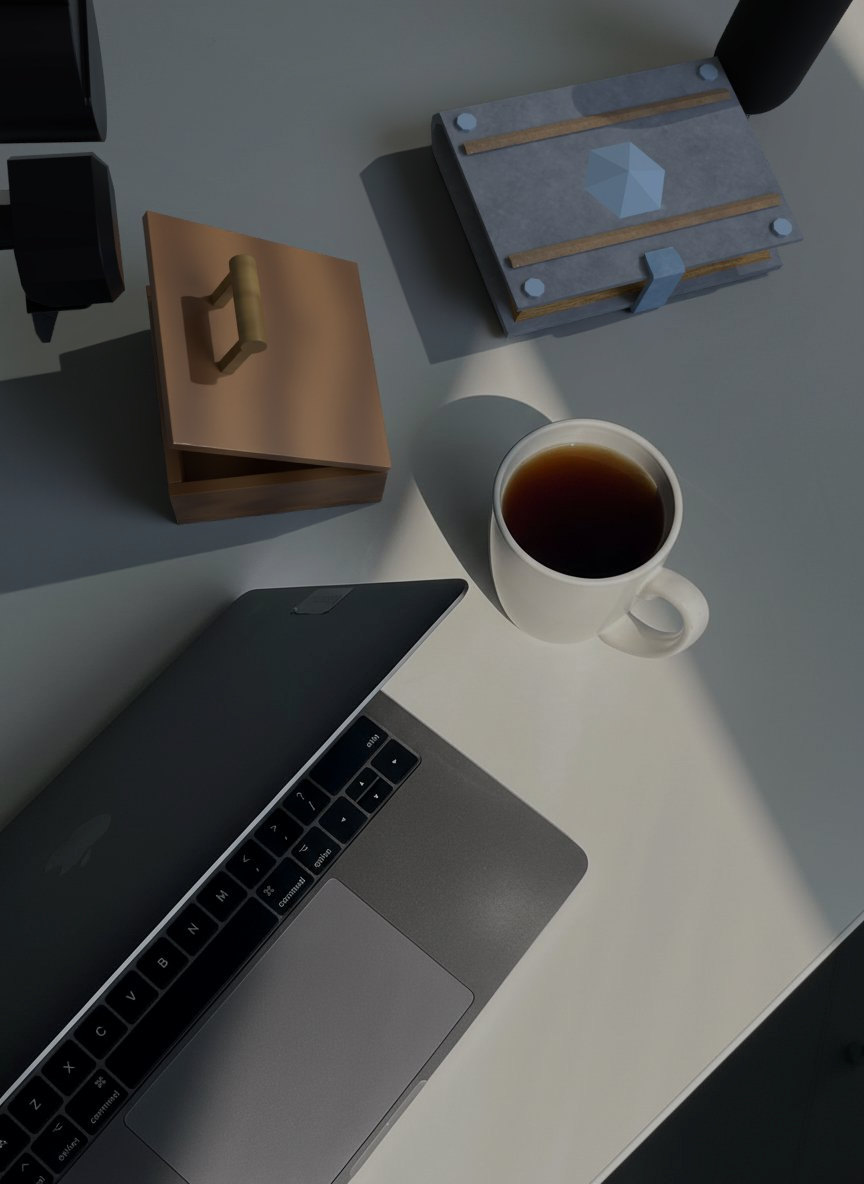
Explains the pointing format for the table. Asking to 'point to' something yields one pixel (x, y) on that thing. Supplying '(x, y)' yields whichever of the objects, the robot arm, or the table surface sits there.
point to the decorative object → (774, 47)
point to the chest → (255, 479)
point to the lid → (262, 349)
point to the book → (612, 194)
